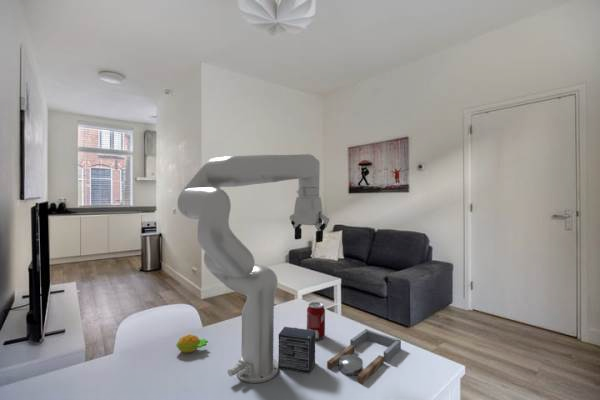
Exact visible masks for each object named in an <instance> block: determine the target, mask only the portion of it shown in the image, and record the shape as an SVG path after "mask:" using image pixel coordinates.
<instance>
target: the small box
mask: <svg viewBox="0 0 600 400" xmlns="http://www.w3.org/2000/svg"><path fill="white" fill-rule="evenodd" d="M315 365H316V340H315V331H314V330H307V328H306V329H305V328H298V327H290V326H283V328H282V330H281V331H280V332H279V333H278V369H284V370H287V371H288V370H289V371H295V372H301V373H307V374H311V373H312V371H313V369H314V367H315Z"/></svg>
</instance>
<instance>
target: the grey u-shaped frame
mask: <svg viewBox="0 0 600 400" xmlns="http://www.w3.org/2000/svg"><path fill="white" fill-rule="evenodd" d="M366 340H367V341H368V340H369V341H372V342H375V343H376V344H380V345H383V346H386V347H387V348H386V349H385V350H384V351H383V357H384V363H388V362H389V361H390V360H392V358H393V357H395V355H396V354H397V353H398V352H399V351H400V350H401V349H402V347H401V345H402V342H401V341H402V340H401V339H397V338H395V337H391V336H390V335H389V336H388V335H385V334H383V333H380V332H377V331H373V330H370V329H367V328H365V329H364V330H363V331H361V332H359V333H358V334H356V335H354V337H352V338H351V339H350V342H349V343H350V344H351V345H354V346H355V349H357V347H359V346H360V345H361V344H363V343H364V342H365V341H366ZM350 344H349V345H350Z"/></svg>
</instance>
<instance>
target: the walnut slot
mask: <svg viewBox="0 0 600 400" xmlns="http://www.w3.org/2000/svg"><path fill="white" fill-rule="evenodd" d="M355 349H356V348H355V346H354V345H351V344H349V345H348V346H346V347H345V348H344V349H343V350H341V351H339V352H338V353H337V354H335V355H334V356H333V357H331V358H330V359H328V360H327V361H326V368H327V369H329V370H332V369H334V368H335V367H336V366H338V365H339V359H340V357H341V356H343V355H348V354H350V355H353V353H355ZM384 363H385V362H384V355H383V356H382V355H378V356H377V357H376V358H374V359H373V360H372V361H371V362H370V363H369V364H368V365H367V366H365V368H364V369H363V370H362V371H361V372H360V373H359V374H358V376H356V377H357V378H356V380H357V383H358V384H361V385H363V384H364V383H365V382H366V381H367V380H368V379H369V378H370V377H371V376H372V375H373V374H374V373H375V372H376V371H377V370H378V369H379V368H380V367H382V365H384Z"/></svg>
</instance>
